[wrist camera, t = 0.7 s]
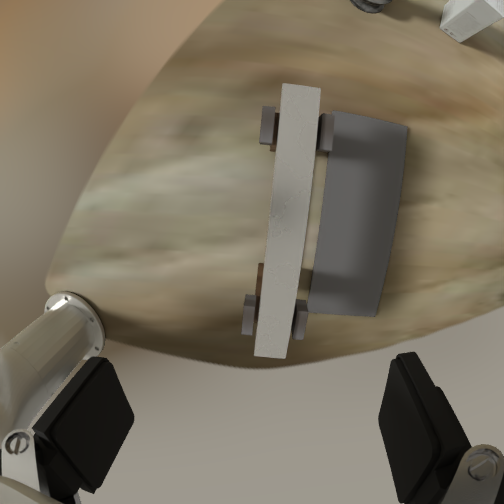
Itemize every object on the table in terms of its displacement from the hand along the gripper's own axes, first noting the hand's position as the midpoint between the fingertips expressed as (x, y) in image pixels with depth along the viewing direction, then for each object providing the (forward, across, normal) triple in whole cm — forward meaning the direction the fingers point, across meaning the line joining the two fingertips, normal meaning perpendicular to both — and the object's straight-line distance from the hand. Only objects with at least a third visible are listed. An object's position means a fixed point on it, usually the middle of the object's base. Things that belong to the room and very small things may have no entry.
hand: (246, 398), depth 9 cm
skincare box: (+32, -30, -30) cm, 53 cm away
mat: (+30, -11, +1) cm, 32 cm away
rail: (+20, -1, -1) cm, 20 cm away
